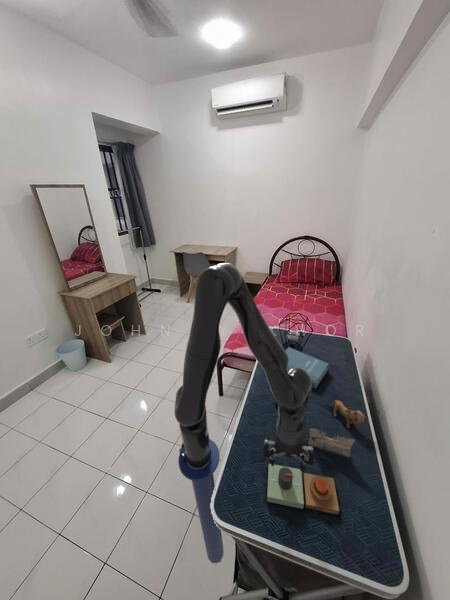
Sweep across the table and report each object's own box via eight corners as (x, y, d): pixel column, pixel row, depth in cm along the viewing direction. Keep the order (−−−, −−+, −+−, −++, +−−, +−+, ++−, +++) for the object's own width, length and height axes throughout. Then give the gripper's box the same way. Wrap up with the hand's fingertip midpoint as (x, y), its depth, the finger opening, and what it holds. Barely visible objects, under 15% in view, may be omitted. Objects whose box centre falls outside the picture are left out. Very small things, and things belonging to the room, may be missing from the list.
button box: (305, 507, 74) (306, 501, 72) (303, 476, 82) (304, 469, 80) (338, 514, 72) (340, 508, 70) (332, 481, 80) (334, 475, 78)
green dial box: (267, 501, 76) (267, 496, 75) (268, 468, 85) (268, 463, 84) (303, 509, 74) (304, 504, 73) (300, 474, 83) (301, 469, 81)
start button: (315, 493, 74) (316, 490, 74) (314, 481, 78) (314, 477, 77) (327, 496, 74) (328, 493, 73) (326, 483, 77) (326, 480, 76)
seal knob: (278, 488, 77) (278, 480, 74) (278, 473, 80) (278, 465, 78) (292, 491, 76) (293, 483, 74) (291, 476, 80) (292, 468, 77)
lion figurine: (363, 427, 96) (368, 412, 92) (356, 435, 94) (361, 420, 90) (330, 403, 107) (333, 389, 103) (323, 410, 105) (326, 395, 101)
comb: (307, 447, 91) (309, 430, 86) (307, 441, 93) (310, 424, 88) (350, 460, 86) (355, 443, 81) (349, 454, 88) (354, 436, 83)
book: (327, 371, 126) (328, 363, 123) (314, 389, 115) (316, 382, 113) (288, 354, 139) (288, 347, 137) (273, 369, 129) (274, 362, 127)
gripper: (315, 423, 68) (309, 457, 75) (264, 416, 71) (264, 449, 78) (318, 449, 61) (312, 484, 68) (262, 440, 64) (262, 474, 71)
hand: (286, 465), depth 73 cm, fingers open, 8 cm apart
